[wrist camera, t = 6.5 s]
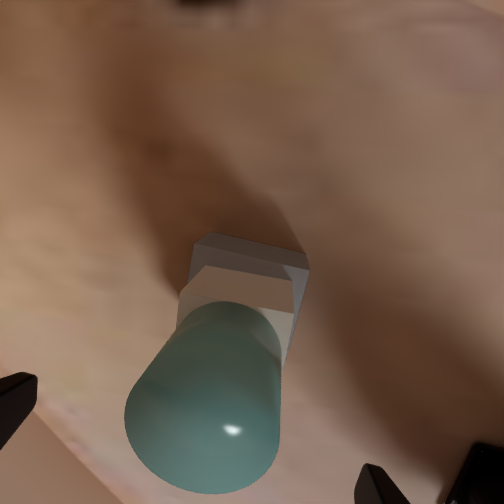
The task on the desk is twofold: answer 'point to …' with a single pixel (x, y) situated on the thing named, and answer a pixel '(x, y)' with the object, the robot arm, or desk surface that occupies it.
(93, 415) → the desk surface
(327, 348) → the desk surface
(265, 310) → the top block
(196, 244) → the base block
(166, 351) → the teal cylinder
